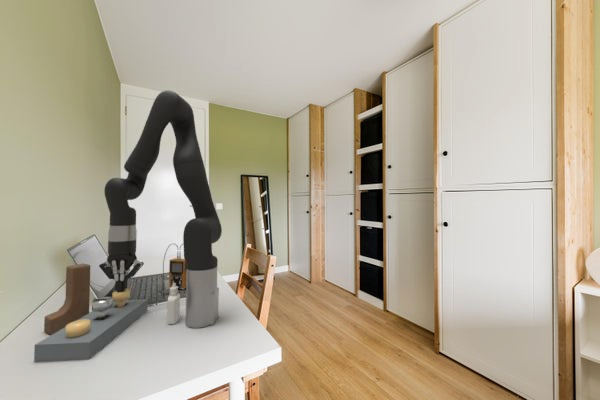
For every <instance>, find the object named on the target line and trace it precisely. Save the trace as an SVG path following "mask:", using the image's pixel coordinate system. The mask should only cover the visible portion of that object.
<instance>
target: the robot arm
mask: <svg viewBox="0 0 600 400" xmlns="http://www.w3.org/2000/svg"><path fill="white" fill-rule="evenodd" d="M169 124H170V125H171V127H172V130H173V135H174V137H175V148H174V152H173V156H172V165H173V169H174V173H175V177H176V181H177V184H178V186H179V187H180V189H181V190H182V192H183V194H184V195H185V197H186V198H187V199H188V201H189V202H190V204H191V207H192V210H193V213H194V218H192V219H190V220H189V221H187V223H186V224H185V226H184V229H183V234H182V235H183V237H182V240H183V242H182V244H183V259H185V261H186V264H187V274H186V289H185V325H186V326H187V327H189V328H191V329H192V328H193V329H194V328H195V329H200V328H203V327H204V328H205V327H207V326H212V325H214V326H215V323H216V321H217V319H218V317H219V306H220V305H219V299H220V297H219V295H220V288H219V287H218V261H219V260H218V258H217V256H215V255H214V254H213V244H215V243H216V242H218V241H219V239H221V236H222V233H223V231H222V230H223V229H222V224H221V221H220V218H219V215H218V213H217V210H216V207H215V204H214V202H213V198H212V194H211V193H212V191H211V188H210V185H209V180H208V177H207V171H206V168H205V164H204V160H203V157H202V152H201V149H200V148H201V147H200V145H199V144H200V143H199V141H198V138H197V131H196V124H195V115H194V110H193V108H192V107H191V104H190V103H189V102H188V101H186V100H185V99H184V98H183V97H182V96H180V94H179V93H176V91H173V90H170V89H169V90H162V91H161V92H159V93H158V95H156V98H155V99H154V101H153V102H152V105H151V109H150V111H149V114H148V116H147V119H146V121H145V123H144V126H143V129H142V132H141V135H140V137H139V139H138V141H137V143H136V145H135V147H134V148H133V150H132V151H131V153H130V154H129V156H128V158H127V160H126V161H125V163H124V166H123V167H124V168H123V169H124V171H126V172H127V173H128V174H127V177H126V178H123V177H113V178H110V179H109V180H108V181H107V182H106V184H105V186H104V197H105V200H106V201H105V202H106V204H107V208H108V211H109V228H108V233H107V234H108V235H107V238H108V239H107V241H108V242H107V254H108V256H107V258H106V261H104V262H102V263H101V264H100V263H99V266H98V267H99V268H100V270H101V271H102V272H103V273H104V274H105V275H106V277H107V278H108V279H109V280H114V281H115V287H114V288H115V291H117V292H123V291H125V290H126V289H128V280H129V279H131V278H133V277H134V276H135V275H136V274H137V273H138V272H139V270H141V268H142V267H143V266H144V262H143V261H140V260H138V257H137V255H136V253H137V237H138V235H137V233H138V232H137V231H138V230H137V210H136V209H135V208H134V207H131V206H130V204H129V201H132V200H137V198H139V197H140V196H141V195H142V193H143V192H144V189H145V186H146V183H147V178H148V175H149V173H150V172H151V170H152V169H153V166H154V165H155V164H156V162H157V160H158V158H159V154H160V151H161V150H160V148H161V140H162V136H163V133H164V131H165V130H166V127H167V126H168V125H169ZM131 268H132V269H131Z"/></svg>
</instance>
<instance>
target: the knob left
mask: <svg viewBox="0 0 600 400" xmlns="http://www.w3.org/2000/svg"><path fill="white" fill-rule="evenodd" d="M89 331H90V320H89V319H81V320H77V321H74V322H71V323H69V324H67V325H66V337H67V338H73V337H78V336H81V335H84V334H86V333H87V332H89Z"/></svg>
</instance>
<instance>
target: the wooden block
mask: <svg viewBox="0 0 600 400" xmlns="http://www.w3.org/2000/svg"><path fill="white" fill-rule="evenodd" d="M65 269H66V272H65V275H66V276H65V299H64V302H63V305H62V306H61V307H60V308H58V310H56V311H53V312H52V313H50V314H47V315H45V316H44V325H43V326H44V328H43V331H44V332H45V333H46V334H48V335H49V336H51V335H52V334H54V333H56V332H58V331H59V330H61V329H63V328H64V327H66V325H67V324H69V323H71V322H74V321H76V320H78V319H80V318H82V317H83V316H85V315H87V314H89V313H90V300H91V299H90V294H91V293H90V292H91V291H90V290H91V265H90V264H88V263H79V264H73V265H67V266H66V268H65Z"/></svg>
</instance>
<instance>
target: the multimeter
mask: <svg viewBox="0 0 600 400" xmlns="http://www.w3.org/2000/svg"><path fill="white" fill-rule="evenodd" d="M171 245H173V243H171V244H169V245H168V247H167V249H166V250H165V253H164V256H163V261H162V262H163V263H162V274H163V275H162V276H163V278H162V279H165V272H164V270H165V269H164V265H165V263H164V262H165V258H166V254H167V251H168V249H169V248H170V247H171ZM174 245H175V246H176V248H177V249H181V248H182V246H184V244H183V243H181V245H180V246H179V247H178V245H177V244H176V243H174ZM176 254H177V255H176V258H175V257H174V258H172V259H169V268H168V269H169V270H168V273H169V274H168V279H169V280H168V284H169V285H168V288H169V287H172V286H173V283H176V286H178V288H184V287H186V274H187V264H186V261H185V259H184V258H181V252H177V253H176ZM163 286H164V287H165V284H163V285H162V287H163Z"/></svg>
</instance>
